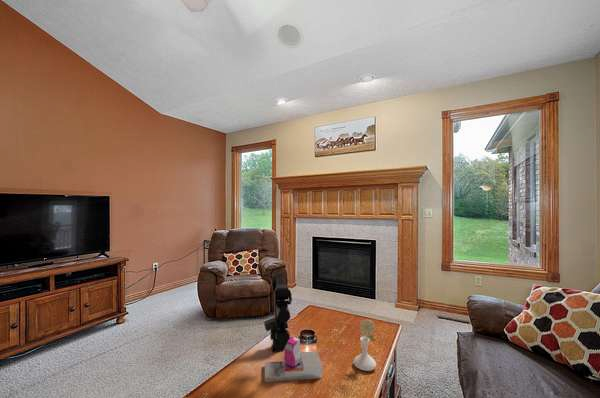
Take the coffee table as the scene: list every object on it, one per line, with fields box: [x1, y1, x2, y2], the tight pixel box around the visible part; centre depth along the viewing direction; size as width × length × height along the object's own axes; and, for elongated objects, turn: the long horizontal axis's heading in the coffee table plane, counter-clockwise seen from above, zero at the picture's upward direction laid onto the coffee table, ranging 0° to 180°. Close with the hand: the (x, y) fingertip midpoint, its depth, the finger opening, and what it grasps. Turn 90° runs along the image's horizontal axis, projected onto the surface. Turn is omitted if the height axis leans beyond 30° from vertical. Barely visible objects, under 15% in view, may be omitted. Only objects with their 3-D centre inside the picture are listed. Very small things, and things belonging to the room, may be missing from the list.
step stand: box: [264, 351, 323, 383], centre depth 129 cm, size 12×27×6 cm, turn 97°
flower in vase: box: [353, 318, 377, 372], centre depth 134 cm, size 13×11×25 cm
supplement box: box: [283, 335, 301, 368], centre depth 129 cm, size 6×6×12 cm
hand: (281, 345), depth 128 cm, fingers open, 9 cm apart
